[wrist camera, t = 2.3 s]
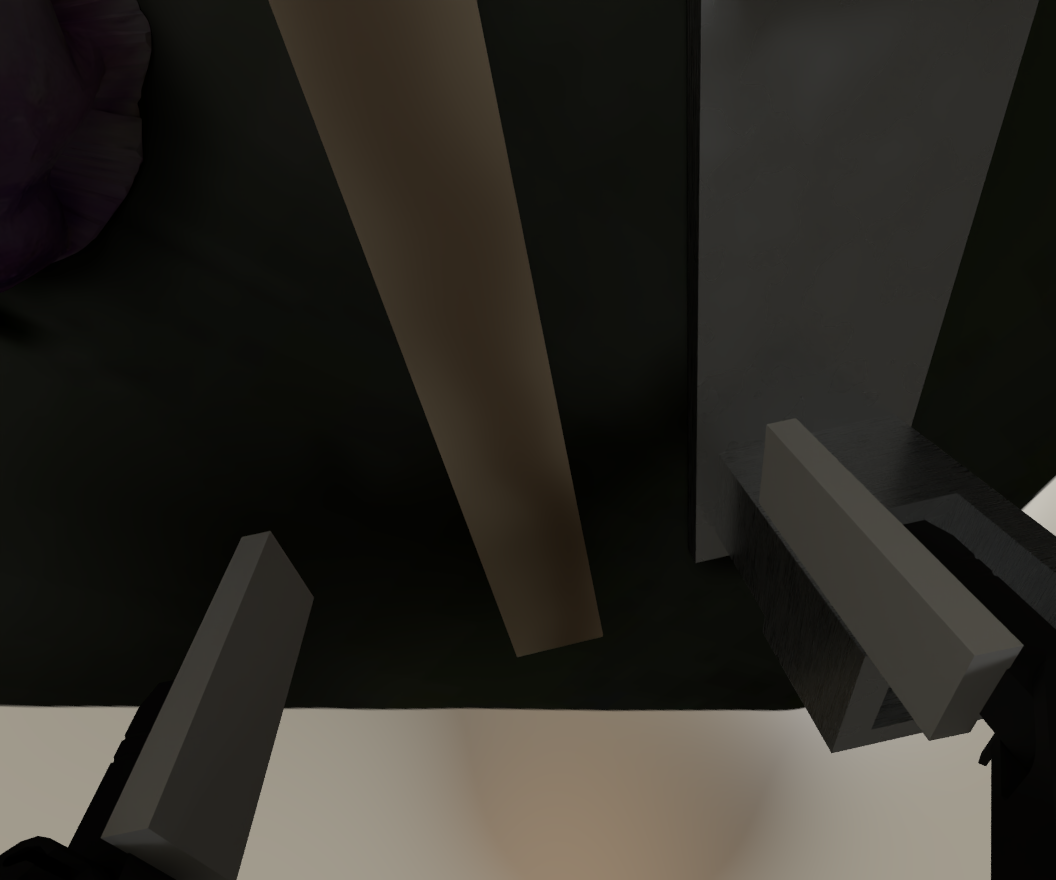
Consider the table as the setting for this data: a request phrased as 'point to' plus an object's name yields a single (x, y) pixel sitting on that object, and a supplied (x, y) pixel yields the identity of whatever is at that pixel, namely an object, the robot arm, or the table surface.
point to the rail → (453, 281)
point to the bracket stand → (838, 293)
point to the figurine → (66, 124)
